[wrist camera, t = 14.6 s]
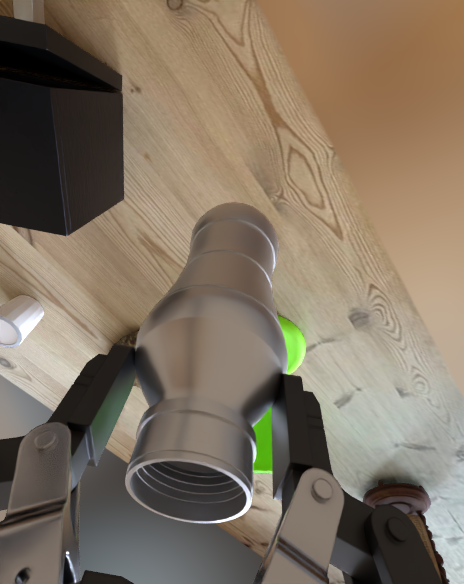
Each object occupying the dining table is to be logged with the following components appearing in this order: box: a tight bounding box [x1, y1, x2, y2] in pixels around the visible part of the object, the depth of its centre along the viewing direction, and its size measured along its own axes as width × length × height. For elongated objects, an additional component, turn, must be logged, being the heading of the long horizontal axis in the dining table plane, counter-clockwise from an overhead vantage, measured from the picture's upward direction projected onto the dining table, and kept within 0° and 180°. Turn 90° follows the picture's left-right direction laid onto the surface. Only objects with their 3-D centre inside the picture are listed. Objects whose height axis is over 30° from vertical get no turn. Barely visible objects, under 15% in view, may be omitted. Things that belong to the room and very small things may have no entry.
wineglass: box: [253, 315, 306, 474], centre depth 49 cm, size 16×16×18 cm
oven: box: [0, 70, 124, 236], centre depth 35 cm, size 13×16×15 cm
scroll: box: [363, 480, 450, 584], centre depth 68 cm, size 15×15×20 cm
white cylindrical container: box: [0, 295, 44, 347], centre depth 54 cm, size 7×7×7 cm
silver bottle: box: [125, 202, 288, 523], centre depth 17 cm, size 6×7×20 cm
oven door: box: [0, 0, 122, 91], centre depth 30 cm, size 5×16×15 cm, turn 80°
